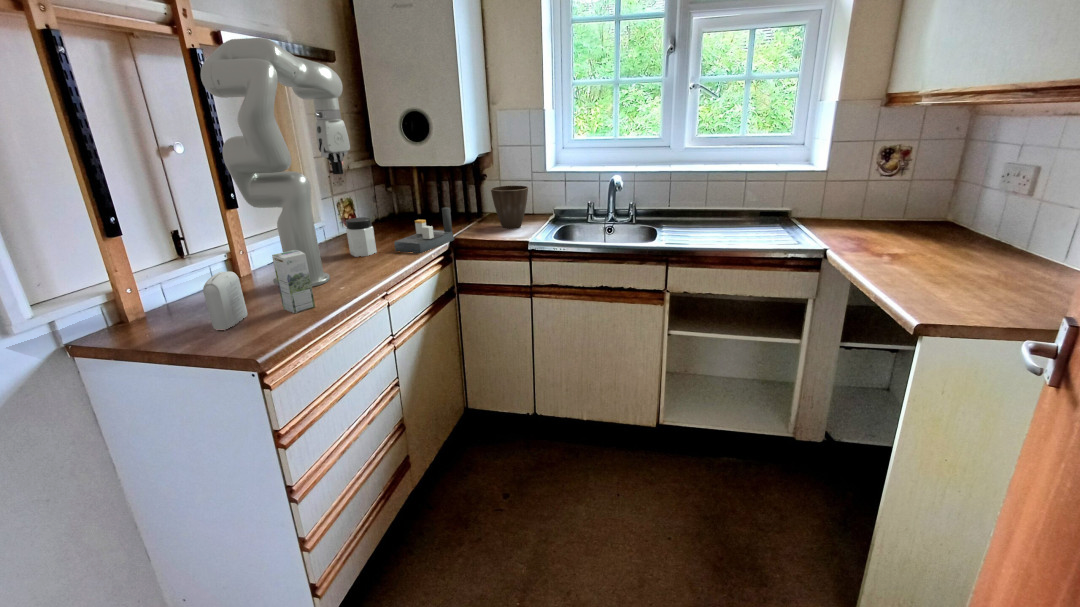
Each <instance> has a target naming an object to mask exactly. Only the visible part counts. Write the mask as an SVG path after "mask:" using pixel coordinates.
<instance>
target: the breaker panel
mask: <svg viewBox="0 0 1080 607" xmlns="http://www.w3.org/2000/svg"><path fill="white" fill-rule="evenodd" d="M433 235H434V238H431V239H423V236H422V234H416V233H415V234H412V235H409V236H406V237H404V238H401V239H397V240H394V244H393V245H394V249H395V252H397V251H400V252H399V253H408V252H413V253H412V254H418V253H421V254H423V252H424V253H426V252H429V251H431V250H433V248H434V249H436V248H439V247H441V246H443V245H446V244H448V243H450V242H453V241H454V240H453V236H454V231H453V230H452V231H450V232H445V231H444V229H443V230H442V229H433ZM435 247H436V248H435ZM430 249H431V250H430ZM428 250H429V251H428ZM425 251H426V252H425Z"/></svg>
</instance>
